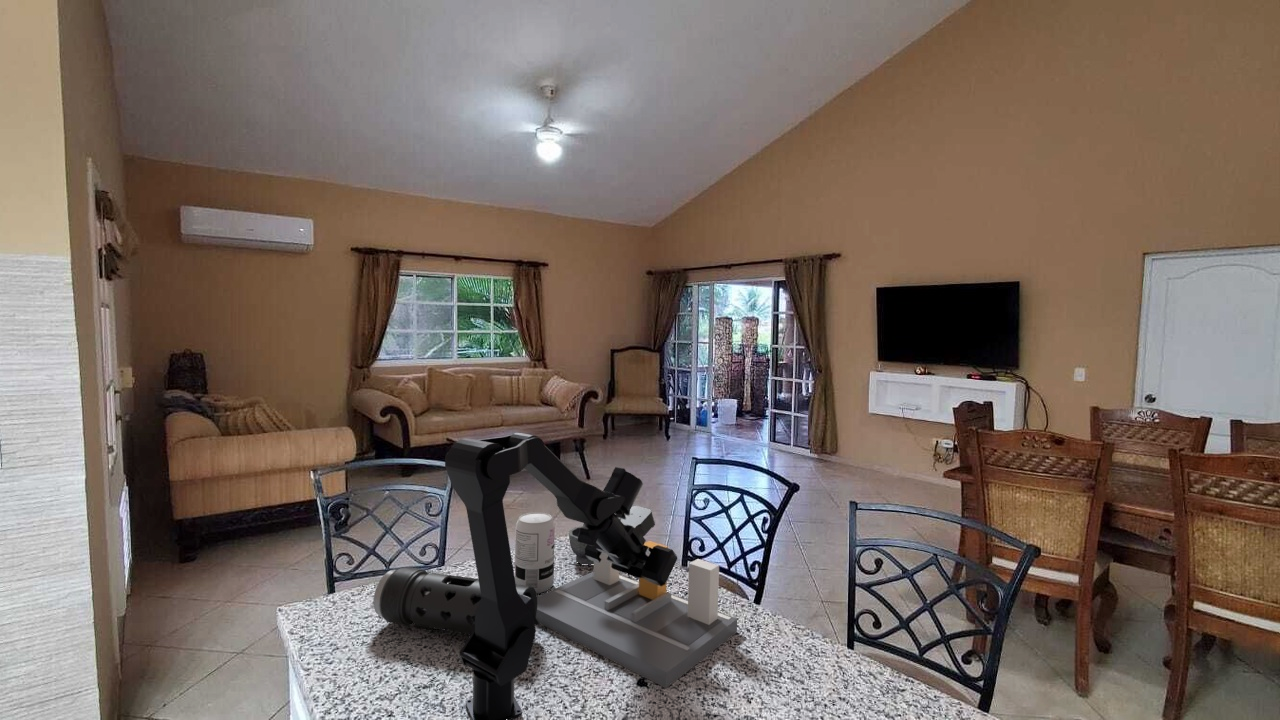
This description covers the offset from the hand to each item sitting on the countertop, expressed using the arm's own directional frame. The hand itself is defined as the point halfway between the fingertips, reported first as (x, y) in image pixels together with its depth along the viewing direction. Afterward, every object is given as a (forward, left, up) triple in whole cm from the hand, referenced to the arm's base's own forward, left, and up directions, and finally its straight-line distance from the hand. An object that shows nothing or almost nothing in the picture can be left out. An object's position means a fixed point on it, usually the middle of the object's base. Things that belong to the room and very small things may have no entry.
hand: (647, 575), depth 109 cm
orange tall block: (+1, -2, -4) cm, 5 cm away
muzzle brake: (+10, +34, -8) cm, 37 cm away
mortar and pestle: (+28, -2, -8) cm, 29 cm away
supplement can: (+21, +15, -8) cm, 27 cm away
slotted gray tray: (-2, +5, -7) cm, 9 cm away
